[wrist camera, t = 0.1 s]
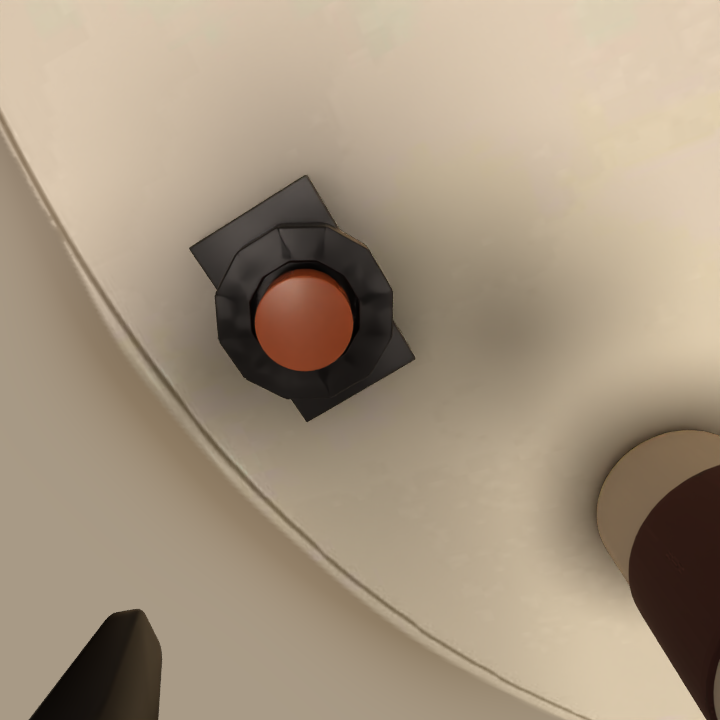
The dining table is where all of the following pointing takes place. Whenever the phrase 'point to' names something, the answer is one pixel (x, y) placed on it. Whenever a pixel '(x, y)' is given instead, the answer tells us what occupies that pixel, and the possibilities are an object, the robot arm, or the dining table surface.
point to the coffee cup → (672, 549)
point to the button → (304, 320)
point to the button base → (289, 252)
